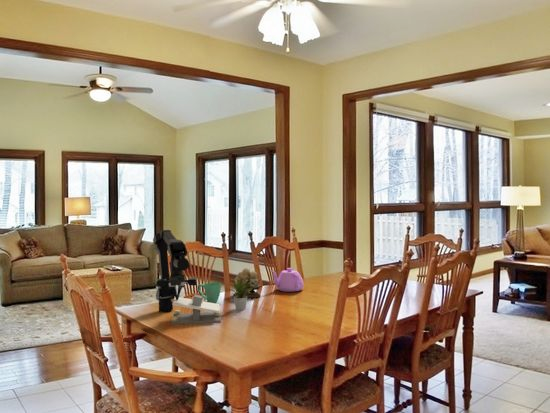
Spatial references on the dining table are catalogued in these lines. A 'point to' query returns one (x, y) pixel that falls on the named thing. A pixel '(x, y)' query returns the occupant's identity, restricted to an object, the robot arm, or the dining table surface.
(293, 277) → the teapot
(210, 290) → the mug
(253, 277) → the bushy plant
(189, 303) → the deck
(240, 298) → the house plant
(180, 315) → the stand
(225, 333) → the dining table surface
